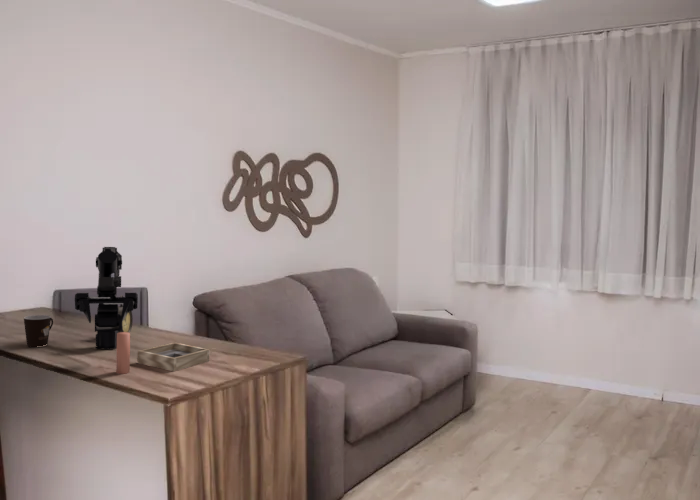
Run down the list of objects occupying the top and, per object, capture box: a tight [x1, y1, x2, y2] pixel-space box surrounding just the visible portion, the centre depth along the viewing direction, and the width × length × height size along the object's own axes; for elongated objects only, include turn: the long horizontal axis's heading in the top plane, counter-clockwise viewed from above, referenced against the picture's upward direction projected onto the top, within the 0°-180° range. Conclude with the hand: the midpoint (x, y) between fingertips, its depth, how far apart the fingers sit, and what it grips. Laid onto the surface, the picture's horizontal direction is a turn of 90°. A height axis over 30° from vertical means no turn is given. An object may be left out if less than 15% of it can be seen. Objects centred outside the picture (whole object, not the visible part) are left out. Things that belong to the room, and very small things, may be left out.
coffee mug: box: [23, 314, 54, 348], centre depth 219 cm, size 12×9×10 cm
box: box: [137, 341, 211, 372], centre depth 204 cm, size 16×16×4 cm
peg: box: [115, 332, 131, 375], centre depth 189 cm, size 4×4×12 cm
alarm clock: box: [118, 294, 133, 334], centre depth 235 cm, size 11×5×16 cm, turn 179°
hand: (105, 321), depth 195 cm, fingers open, 9 cm apart
